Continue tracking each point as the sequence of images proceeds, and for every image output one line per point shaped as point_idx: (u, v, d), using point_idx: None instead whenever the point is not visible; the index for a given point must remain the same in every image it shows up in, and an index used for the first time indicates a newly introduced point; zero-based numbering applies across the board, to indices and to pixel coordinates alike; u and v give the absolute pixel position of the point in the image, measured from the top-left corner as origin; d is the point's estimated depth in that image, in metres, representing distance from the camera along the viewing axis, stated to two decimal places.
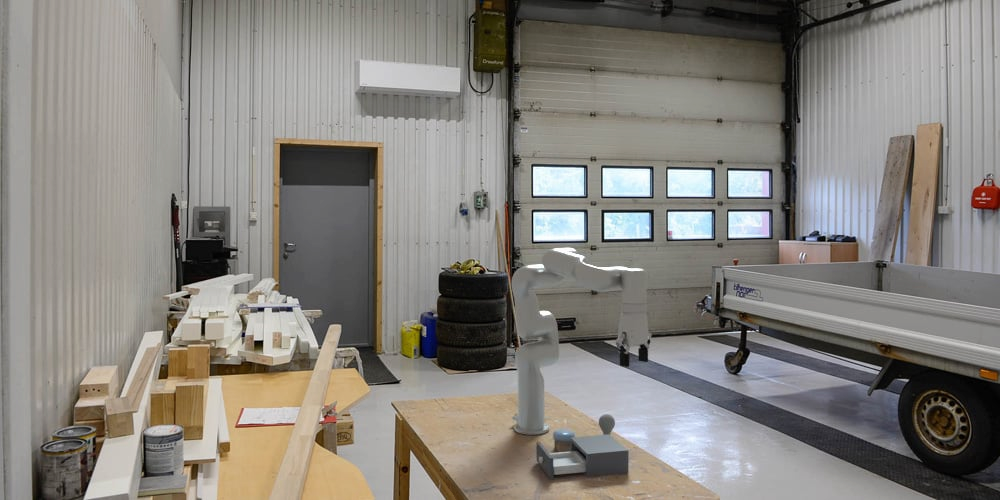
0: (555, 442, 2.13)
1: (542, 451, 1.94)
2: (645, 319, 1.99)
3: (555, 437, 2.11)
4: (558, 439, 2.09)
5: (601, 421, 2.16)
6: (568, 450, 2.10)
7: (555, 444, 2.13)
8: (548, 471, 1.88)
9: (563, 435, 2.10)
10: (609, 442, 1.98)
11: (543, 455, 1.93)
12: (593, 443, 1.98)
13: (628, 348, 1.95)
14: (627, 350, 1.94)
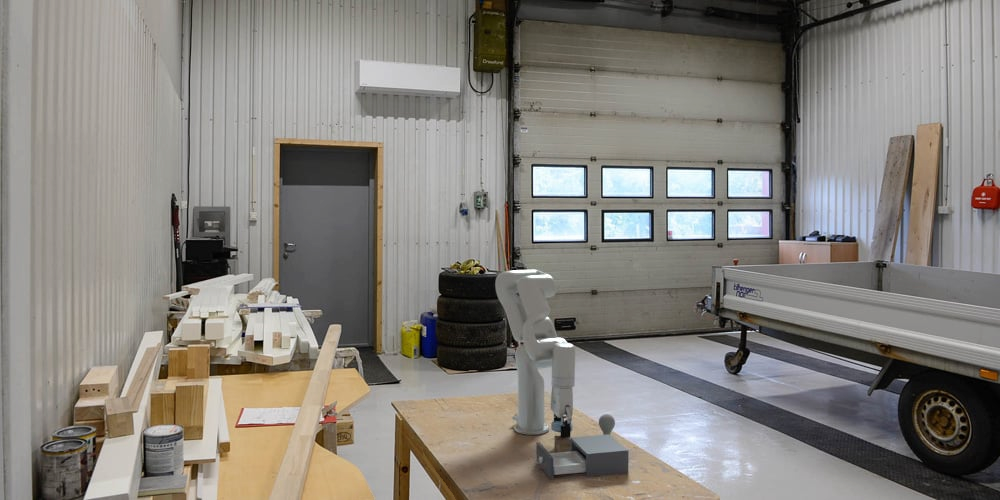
0: (555, 442, 2.13)
1: (542, 451, 1.94)
2: None
3: (553, 428, 2.12)
4: (556, 430, 2.10)
5: (601, 421, 2.16)
6: (568, 450, 2.10)
7: (555, 444, 2.13)
8: (548, 471, 1.88)
9: None
10: (609, 442, 1.98)
11: (543, 455, 1.93)
12: (593, 443, 1.98)
13: None
14: None
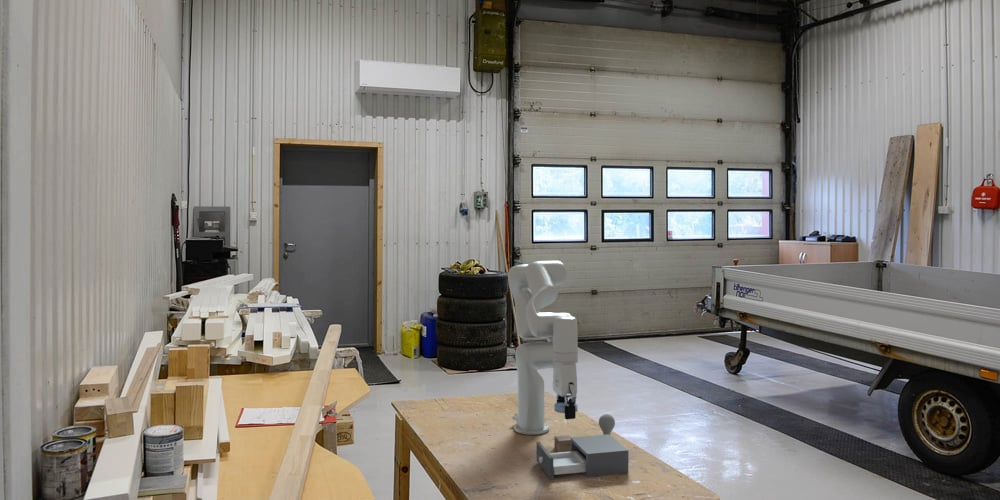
0: (555, 442, 2.13)
1: (542, 451, 1.94)
2: None
3: (556, 409, 1.94)
4: (560, 411, 1.93)
5: (601, 421, 2.16)
6: (568, 450, 2.10)
7: (555, 444, 2.13)
8: (548, 471, 1.88)
9: None
10: (609, 442, 1.98)
11: (543, 455, 1.93)
12: (593, 443, 1.98)
13: None
14: None
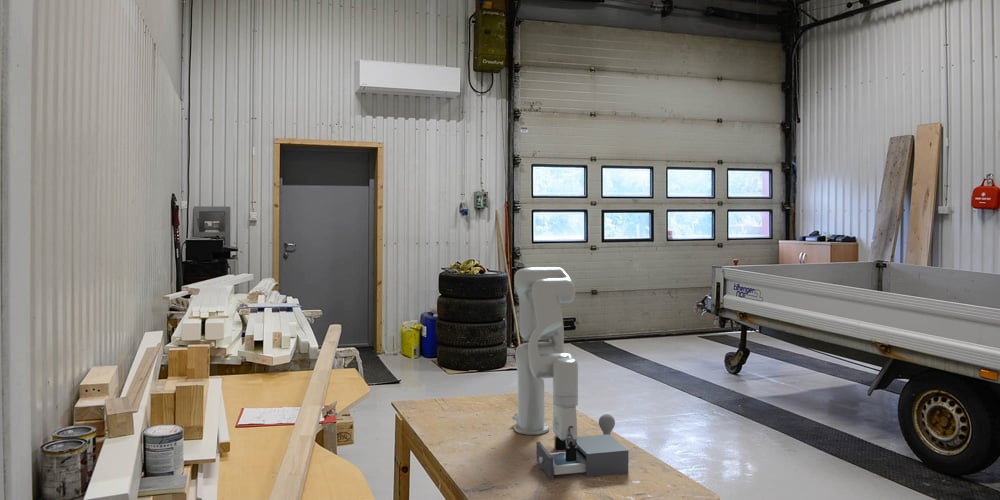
0: (555, 442, 2.13)
1: (542, 451, 1.94)
2: None
3: (555, 461, 1.94)
4: (559, 464, 1.93)
5: (601, 421, 2.16)
6: None
7: (555, 444, 2.13)
8: (548, 471, 1.88)
9: (564, 460, 1.93)
10: (609, 442, 1.98)
11: (543, 455, 1.93)
12: (593, 443, 1.98)
13: None
14: None
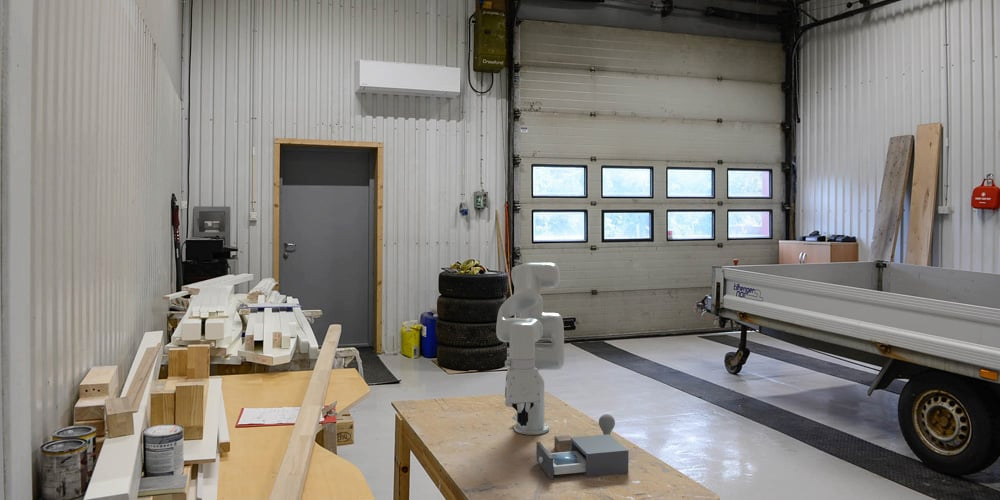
0: (555, 442, 2.13)
1: (542, 451, 1.94)
2: None
3: (555, 461, 1.94)
4: (559, 463, 1.93)
5: (601, 421, 2.16)
6: (568, 450, 2.10)
7: (555, 444, 2.13)
8: (548, 471, 1.88)
9: (564, 459, 1.93)
10: (609, 442, 1.98)
11: (543, 455, 1.93)
12: (593, 443, 1.98)
13: None
14: None
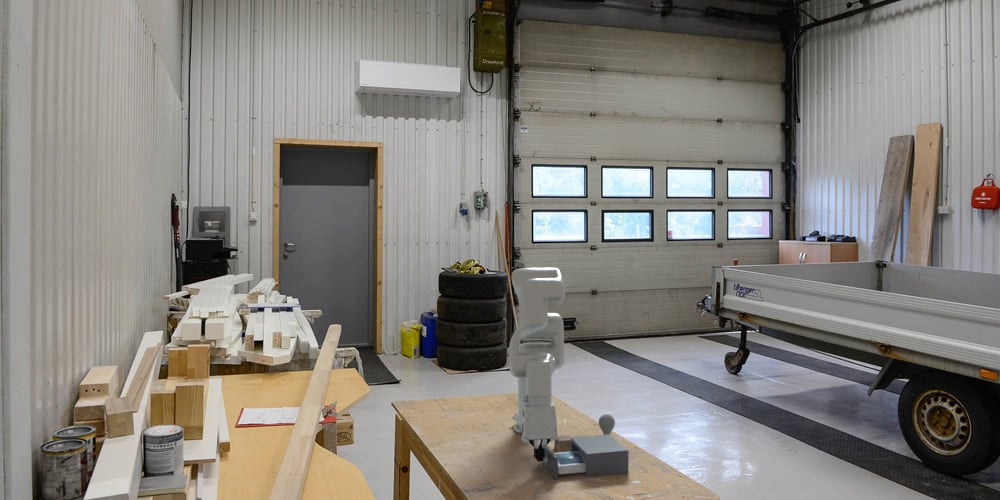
0: (555, 442, 2.13)
1: (546, 451, 1.95)
2: None
3: (559, 461, 1.95)
4: (562, 463, 1.94)
5: (601, 421, 2.16)
6: (568, 450, 2.10)
7: (555, 444, 2.13)
8: (553, 471, 1.89)
9: (567, 459, 1.93)
10: (609, 442, 1.98)
11: (548, 454, 1.93)
12: (593, 443, 1.98)
13: None
14: None
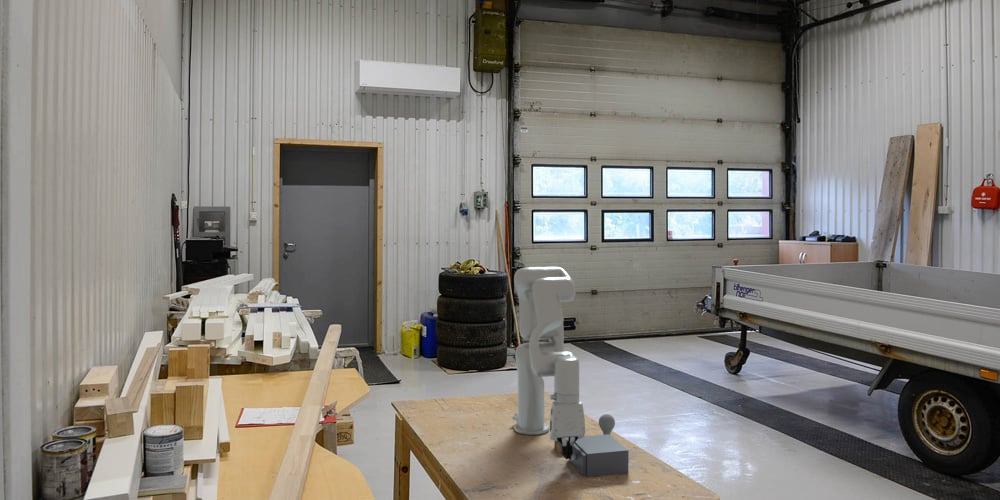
0: (555, 442, 2.13)
1: (574, 448, 1.97)
2: None
3: None
4: None
5: (601, 421, 2.16)
6: None
7: (555, 444, 2.13)
8: (581, 468, 1.91)
9: None
10: (609, 442, 1.98)
11: (575, 452, 1.95)
12: (593, 443, 1.98)
13: None
14: None
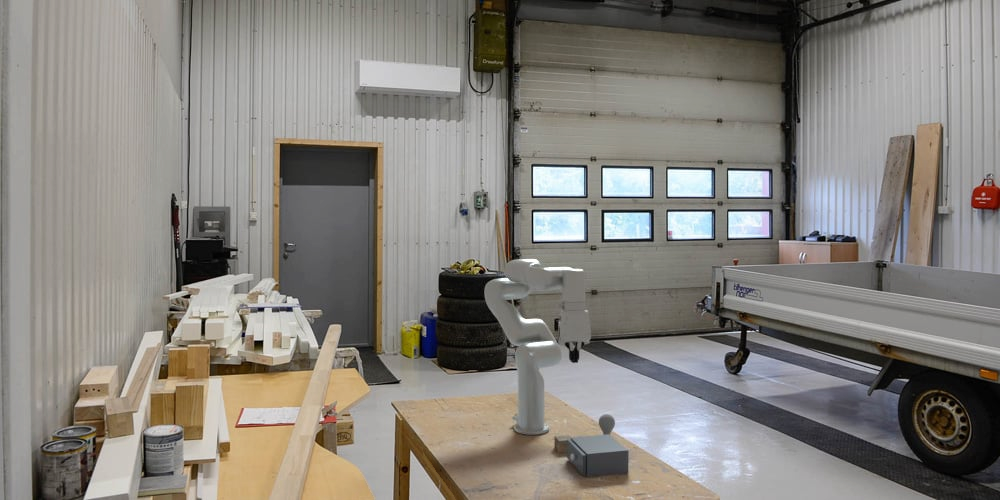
0: (555, 442, 2.13)
1: (574, 448, 1.96)
2: None
3: None
4: None
5: (601, 421, 2.16)
6: None
7: (555, 444, 2.13)
8: (580, 468, 1.91)
9: None
10: (609, 442, 1.98)
11: (575, 452, 1.95)
12: (593, 443, 1.98)
13: None
14: None
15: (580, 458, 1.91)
